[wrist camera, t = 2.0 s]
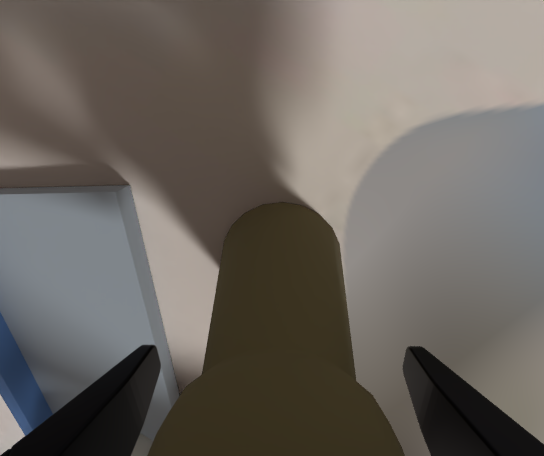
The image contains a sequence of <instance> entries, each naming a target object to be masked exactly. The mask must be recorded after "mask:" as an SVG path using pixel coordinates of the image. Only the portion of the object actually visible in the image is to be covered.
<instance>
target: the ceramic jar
mask: <svg viewBox="0 0 544 456" xmlns="http://www.w3.org/2000/svg"><path fill="white" fill-rule="evenodd" d="M152 443H153V441H152V440H151V439H150V438H148V437H146V436H144V435H142V434H140V435H139V437H138V440H137V442H136V445H135V447H134V449H133V452H132V454H131V456H147V455H148V453H149V450H150V448H151V445H152Z"/></svg>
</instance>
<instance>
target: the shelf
mask: <svg viewBox="0 0 544 456" xmlns="http://www.w3.org/2000/svg"><path fill="white" fill-rule="evenodd" d="M141 345H155V346H156V347H157V350H158V354H159V358H160V362H161V370H160V374H159V377H158V380H157V384H156V387H155V390H154V393H153V397H152V400H151V403H150V406H149V409H148V413H147V416H146V419H145V422H144V425H143V427H142V430H141V432H140V434H142V435H144V436H146V437H148V438H150V439H151V440H152V441H154V438H155V436H156V434H157V432H158V430H159V428H160V427H161V425H162V423H163V421H164V420H165V418H166V416H167V415H168V413H169V411H170V410H171V408H172V407H173V405H174V404H175V402H176V401H177V399H178V398H179V396H180V395H179V390H178V386H177V382H176V378H175V373H174V369H173V365H172V361H171V356H170V352H169V348H168V344H167V340H166V335H165V331H164V327H163V323H162V318H161V314H160V310H159V306H158V302H157V297H156V293H155V289H154V285H153V280H152V276H151V272H150V268H149V264H148V259H147V255H146V251H145V247H144V242H143V238H142V234H141V230H140V225H139V221H138V217H137V213H136V209H135V204H134V200H133V196H132V192H131V187H130V185H116V186H74V187H31V188H0V394H1V396H2V398H3V399H4V401H5V403H6V404H7V406H8V408H9V409H10V411H11V413H12V414H13V416H14V418H15V419H16V421H17V423H18V424H19V426H20V428H21V429H22V431H23V433H24V434H25V436H26V435H27V434H29V433H30V432H31V431H32V430H34V429H35V428H36V427H37V426H39V425H40V424H41V423H43V422H44V421H45V420H46V419H48V418H49V417H50V416H51V415H53V414H54V413H55V412H57V411H58V410H59V409H60V408H62V407H63V406H64V405H66V404H67V403H68V402H69V401H71V400H72V399H73V398H74V397H76V396H77V395H78V394H80V393H81V392H82V391H83V390H85V389H86V388H87V387H88V386H90V385H91V384H92V383H94V382H95V381H96V380H97V379H99V378H100V377H101V376H102V375H104V374H105V373H106V372H108V371H109V370H110V369H111V368H113V367H114V366H115V365H116V364H118V363H119V362H120V361H122V360H123V359H124V358H125V357H127V356H128V355H129V354H131V353H132V352H133V351H134V350H136V349H137V348H138V347H139V346H141Z"/></svg>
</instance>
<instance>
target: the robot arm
mask: <svg viewBox="0 0 544 456" xmlns="http://www.w3.org/2000/svg"><path fill="white" fill-rule="evenodd" d="M160 370H161V362H160V358H159V354H158V350H157V347H156V346H155V345H141V346H139V347H138V348H137V349H136V350H134V351H133V352H132V353H131V354H129V355H128V356H127V357H125V358H124V359H123V360H122V361H120V362H119V363H118V364H116V365H115V366H114V367H113V368H111V369H110V370H109V371H108V372H106V373H105V374H104V375H102V376H101V377H100V378H99V379H97V380H96V381H95V382H94V383H92V384H91V385H90V386H88V387H87V388H86V389H85V390H83V391H82V392H81V393H80V394H78V395H77V396H76V397H74V398H73V399H72V400H71V401H69V402H68V403H67V404H66V405H64V406H63V407H62V408H60V409H59V410H58V411H57V412H55V413H54V414H53V415H51V416H50V417H49V418H48V419H46V420H45V421H44V422H43V423H41V424H40V425H39V426H37V427H36V428H35V429H34V430H32V431H31V432H30V433H29V434H27V435H26V436H25V437H23V438H22V439H21V440H20V441H18V442H17V443H16V444H15V445H13V446H12V448H11V449H8V450H7V451H5V452H4V453H3V454H2V455H0V456H131V454H132V452H133V449H134V447H135V445H136V442H137V440H138V437H139V435H140V432H141V430H142V427H143V425H144V422H145V419H146V416H147V413H148V409H149V406H150V403H151V400H152V397H153V393H154V390H155V387H156V384H157V380H158V377H159V374H160ZM403 374H404V377H405V380H406V384H407V387H408V390H409V394H410V397H411V400H412V403H413V407H414V410H415V413H416V416H417V420H418V423H419V426H420V429H421V432H422V434H423V437H424V439H425V442H426V444H427V447H428V449H429V451H430V454H431V456H544V444H543V443H541V442H540V441H539V440H538V439H536V438H535V437H534V436H533V435H531V434H530V433H529V432H528V431H526V430H525V429H524V428H523V427H521V426H520V425H519V424H518V423H517V422H515V421H514V420H513V419H512V418H510V417H509V416H508V415H507V414H505V413H504V412H503V411H502V410H500V409H499V408H498V407H497V406H495V405H494V404H493V403H492V402H490V401H489V400H488V399H487V398H485V397H484V396H483V395H482V394H481V393H479V392H478V391H477V390H476V389H474V388H473V387H472V386H471V385H469V384H468V383H467V382H466V381H464V380H463V379H462V378H461V377H459V376H458V375H457V374H456V373H454V372H453V371H452V370H451V369H449V368H448V367H447V366H446V365H445V364H443V363H442V362H441V361H440V360H438V359H437V358H436V357H435V356H433V355H432V354H431V353H430V352H428V351H427V350H426V349H425V348H423V347H420V346H410V347H407V349H406V353H405V357H404V362H403Z"/></svg>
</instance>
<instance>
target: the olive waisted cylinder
mask: <svg viewBox="0 0 544 456" xmlns="http://www.w3.org/2000/svg"><path fill="white" fill-rule="evenodd" d="M350 335H351V334H350V326H349V318H348V310H347V302H346V294H345V285H344V277H343V269H342V261H341V253H340V245H339V242H338V240H337V237H336V235H335V233H334V231H333V228H332V227H331V226H330V225H329V224H328V223H327V222H326V221H325V220H324V219H323V218H322V217H321V216H320V215H319V214H317V213H315V212H314V211H312V210H310V209H308V208H306V207H304V206H302V205H296V204H290V203H285V202H280V203H272V204H264V205H261V206H259V207H257V208H255V209H252V210H250V211H248V212H246V213H245V214H243V215H242V216H241V217H240V218H239V219H238V220H237V221H236V222H235V223H234V224H233V225H232V226H231V228H230V230H229V232H228V234H227V236H226V238H225V240H224V245H223V251H222V257H221V263H220V269H219V275H218V281H217V287H216V293H215V299H214V305H213V311H212V317H211V323H210V329H209V335H208V341H207V347H206V353H205V359H204V365H203V371H202V375H201V376H200V377H198V378H197V379H196V380H194V381H193V382H191V383H190V384H189V385H187V386H186V387H185V389H184V390H183V392H182V393H181V395H180V396H179V398H178V399H177V401H176V402H175V404H174V405H173V407H172V408H171V410H170V411H169V413H168V415H167V416H166V418H165V420H164V421H163V423H162V425H161V427H160V428H159V430H158V432H157V434H156V436H155V438H154V441H153V443H152V445H151V448H150V450H149V453H148V455H147V456H404V452H403V449H402V447H401V445H400V443H399V441H398V439H397V437H396V435H395V433H394V431H393V429H392V427H391V425H390V423H389V421H388V420H387V418H386V416H385V415H384V413H383V411H382V410H381V408H380V407H379V405H378V403H377V402H376V400H375V399H374V397H373V395H372V394H371V393H369V392H368V391H367V390H366V389H365V388H364V387H362V386H361V385H360V384H359V383H358V382H357V381H356V375H355V368H354V359H353V351H352V342H351V336H350Z"/></svg>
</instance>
